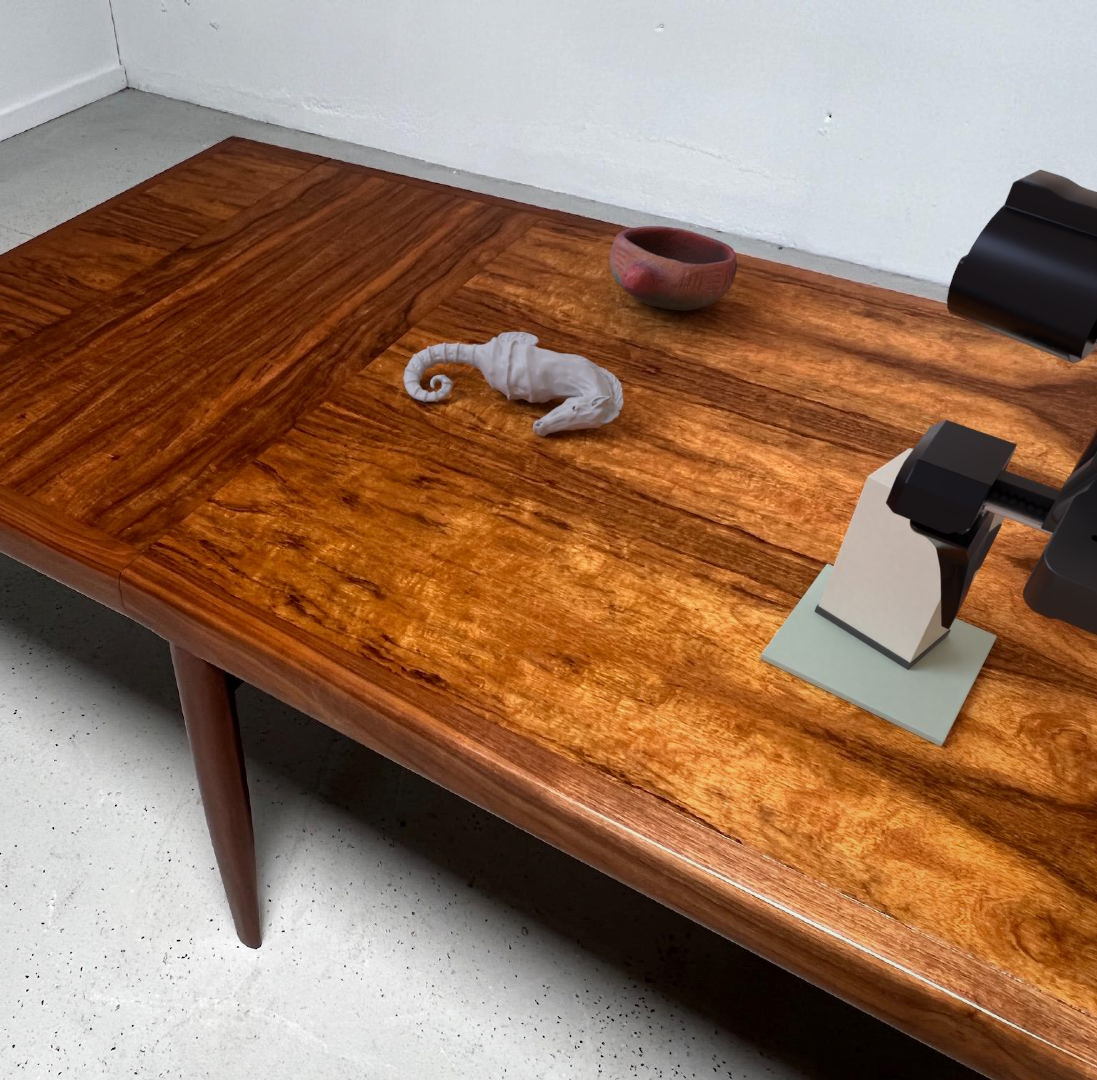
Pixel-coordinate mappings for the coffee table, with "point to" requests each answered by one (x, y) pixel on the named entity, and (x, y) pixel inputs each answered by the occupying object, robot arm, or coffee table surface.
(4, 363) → the coffee table surface
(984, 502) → the robot arm
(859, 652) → the mat
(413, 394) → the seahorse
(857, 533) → the white tilted block
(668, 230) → the bowl
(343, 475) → the coffee table surface
